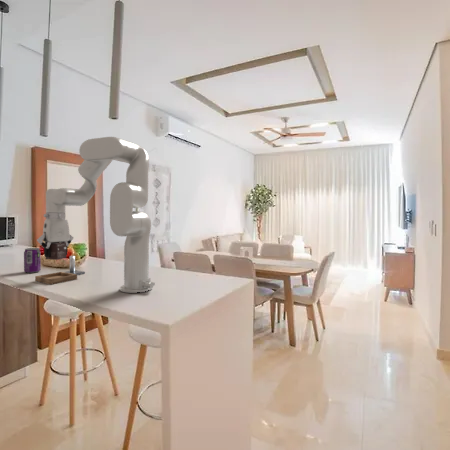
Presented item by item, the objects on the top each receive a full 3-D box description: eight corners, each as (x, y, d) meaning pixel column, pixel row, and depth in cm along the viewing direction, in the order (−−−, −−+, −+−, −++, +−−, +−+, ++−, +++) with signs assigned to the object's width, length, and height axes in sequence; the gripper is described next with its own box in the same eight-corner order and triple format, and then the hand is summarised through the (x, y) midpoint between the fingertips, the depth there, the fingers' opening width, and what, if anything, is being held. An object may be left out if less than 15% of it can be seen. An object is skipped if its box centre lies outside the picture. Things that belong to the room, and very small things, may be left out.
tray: (77, 279, 141) (77, 274, 141) (51, 284, 130) (51, 279, 130) (61, 276, 147) (60, 271, 146) (35, 281, 136) (35, 276, 136)
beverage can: (43, 271, 156) (43, 248, 156) (28, 274, 150) (28, 249, 150) (36, 270, 160) (35, 247, 160) (21, 272, 154) (21, 248, 154)
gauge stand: (84, 273, 153) (84, 255, 153) (70, 276, 146) (70, 257, 146) (74, 271, 157) (74, 254, 157) (59, 274, 150) (59, 256, 150)
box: (56, 260, 134) (56, 243, 134) (45, 259, 136) (44, 243, 135) (66, 258, 140) (66, 242, 140) (55, 257, 142) (55, 241, 141)
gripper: (41, 217, 128) (41, 259, 129) (78, 216, 143) (78, 254, 144) (31, 216, 131) (31, 257, 132) (68, 216, 147) (68, 253, 147)
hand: (56, 255), depth 138 cm, fingers closed on box, 7 cm apart
